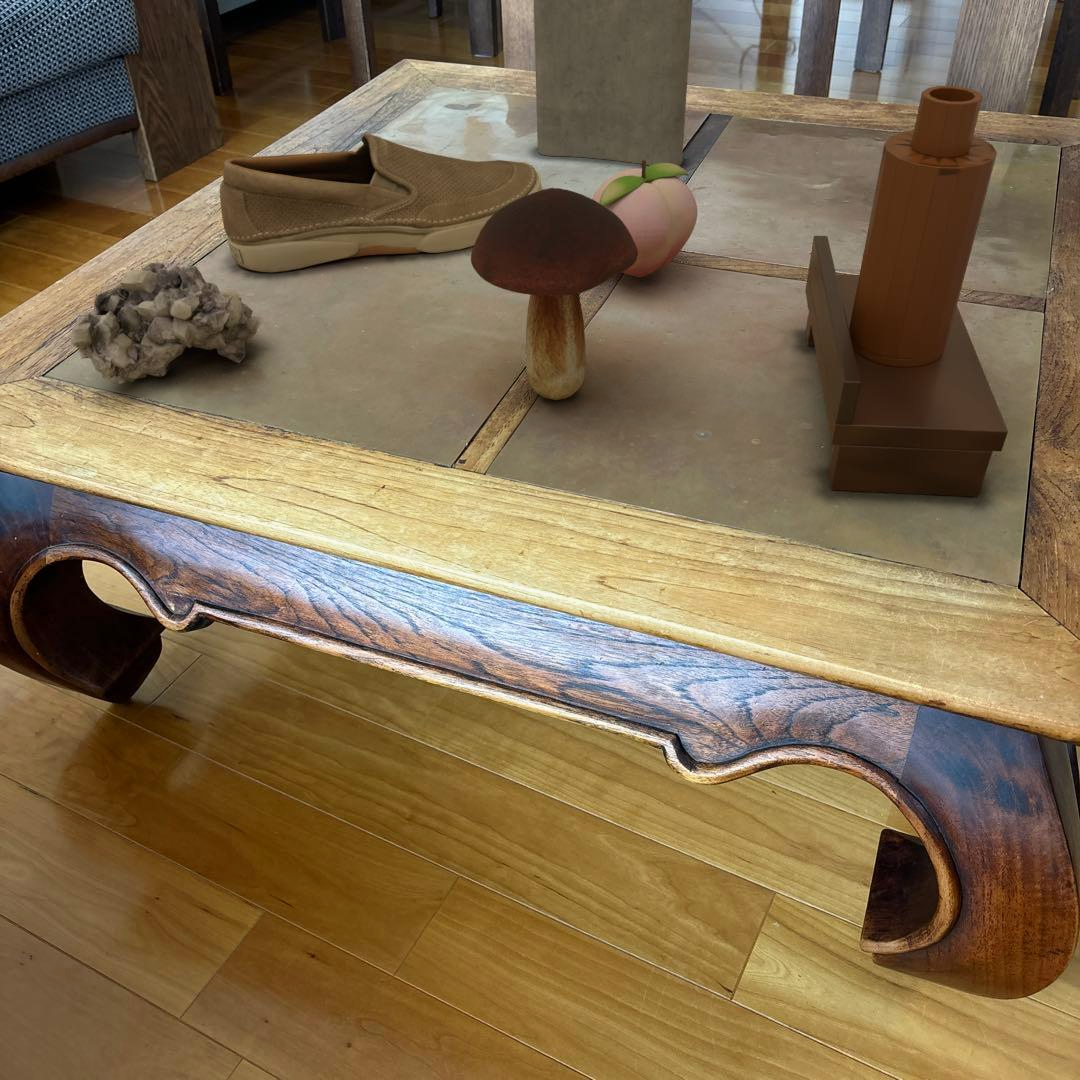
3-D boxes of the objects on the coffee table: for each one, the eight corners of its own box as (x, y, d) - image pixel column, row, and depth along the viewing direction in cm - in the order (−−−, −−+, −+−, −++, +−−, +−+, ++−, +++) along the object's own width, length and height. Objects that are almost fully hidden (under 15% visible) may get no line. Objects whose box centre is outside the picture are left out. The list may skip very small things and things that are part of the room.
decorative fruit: (634, 244, 93) (638, 131, 86) (708, 270, 88) (717, 154, 82) (564, 280, 88) (562, 163, 81) (638, 310, 83) (642, 189, 77)
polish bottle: (935, 321, 71) (996, 77, 60) (952, 368, 66) (1022, 113, 55) (843, 319, 71) (888, 77, 61) (853, 365, 66) (904, 112, 56)
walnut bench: (930, 336, 79) (955, 238, 74) (986, 497, 64) (1022, 388, 59) (798, 332, 80) (813, 235, 75) (822, 489, 65) (844, 381, 60)
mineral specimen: (59, 373, 71) (97, 233, 69) (74, 353, 79) (108, 227, 77) (235, 426, 75) (276, 296, 73) (232, 402, 84) (268, 284, 82)
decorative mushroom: (531, 455, 68) (523, 242, 59) (453, 382, 76) (435, 182, 66) (662, 404, 73) (675, 198, 63) (577, 340, 80) (576, 146, 70)
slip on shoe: (528, 190, 102) (524, 97, 97) (561, 235, 94) (559, 137, 88) (228, 233, 97) (205, 137, 91) (235, 285, 88) (211, 183, 83)
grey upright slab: (533, 154, 110) (527, -58, 97) (546, 141, 113) (541, -66, 100) (677, 169, 106) (691, -50, 93) (687, 155, 109) (701, -59, 96)
